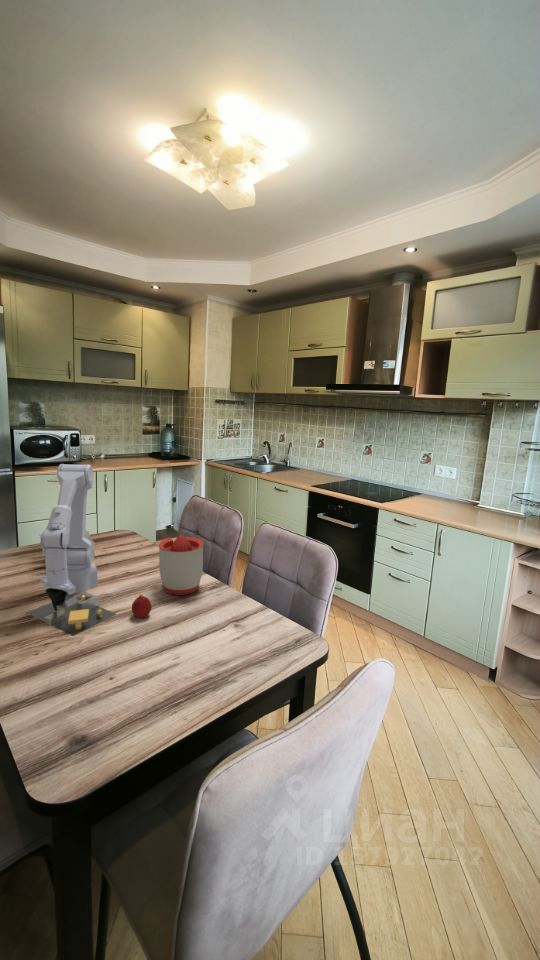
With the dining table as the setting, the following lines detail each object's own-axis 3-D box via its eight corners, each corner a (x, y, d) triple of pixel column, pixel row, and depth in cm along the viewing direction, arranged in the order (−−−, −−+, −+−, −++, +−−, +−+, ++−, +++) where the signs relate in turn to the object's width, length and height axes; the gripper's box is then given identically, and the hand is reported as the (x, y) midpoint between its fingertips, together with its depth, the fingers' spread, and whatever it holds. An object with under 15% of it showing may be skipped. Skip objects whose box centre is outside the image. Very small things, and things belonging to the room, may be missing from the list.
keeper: (70, 621, 122) (70, 611, 122) (89, 618, 124) (88, 609, 123) (68, 631, 117) (68, 621, 116) (87, 629, 118) (87, 618, 118)
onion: (155, 616, 128) (155, 592, 127) (142, 624, 123) (142, 599, 122) (141, 611, 131) (140, 588, 129) (127, 620, 126) (127, 595, 124)
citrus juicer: (199, 576, 160) (199, 526, 156) (206, 595, 144) (207, 540, 140) (157, 579, 155) (156, 528, 151) (160, 600, 139) (159, 543, 135)
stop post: (99, 615, 126) (99, 608, 126) (103, 616, 126) (103, 609, 125) (95, 617, 125) (95, 610, 125) (98, 618, 124) (98, 612, 124)
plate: (70, 596, 139) (70, 594, 139) (117, 616, 127) (116, 614, 127) (26, 615, 126) (25, 612, 126) (73, 638, 115) (73, 635, 115)
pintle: (83, 603, 133) (83, 593, 132) (87, 605, 132) (87, 595, 131) (77, 606, 131) (77, 595, 131) (81, 607, 130) (81, 597, 130)
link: (85, 600, 135) (84, 590, 134) (98, 605, 132) (98, 595, 132) (41, 620, 122) (40, 609, 121) (55, 626, 119) (54, 615, 118)
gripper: (29, 566, 124) (32, 608, 127) (58, 578, 117) (61, 622, 119) (51, 559, 130) (54, 599, 133) (81, 570, 123) (83, 612, 126)
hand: (59, 609), depth 126 cm, fingers closed
